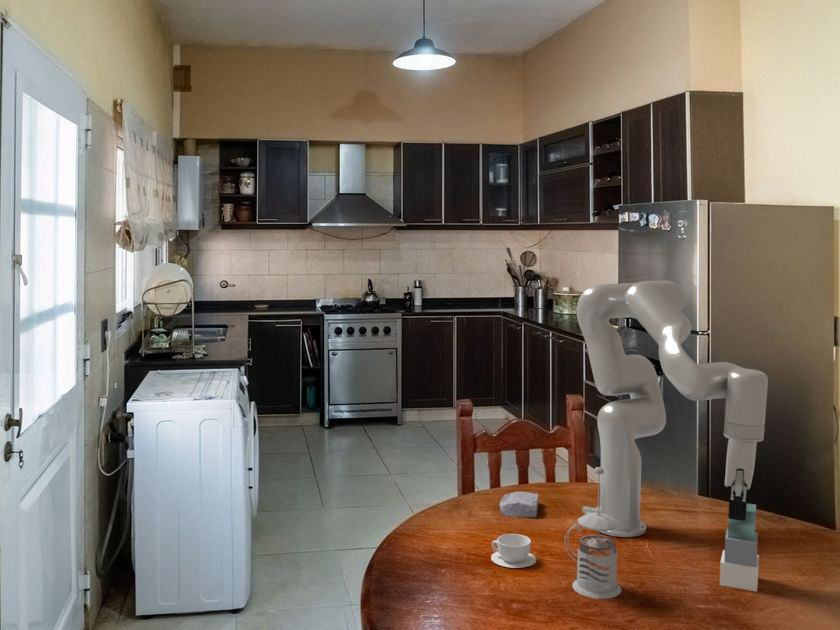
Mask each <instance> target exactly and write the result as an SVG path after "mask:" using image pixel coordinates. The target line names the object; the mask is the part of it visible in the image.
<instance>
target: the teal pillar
mask: <svg viewBox="0 0 840 630" xmlns="http://www.w3.org/2000/svg"><path fill="white" fill-rule="evenodd" d="M756 515H757V504H755V503H754V504H753V503H747V507H746V519H745V521H741V520H735V519H730V518H729V517H728V525H727V529H728V538H735V539H742V540H749V541H755V533H756V517H757V516H756Z"/></svg>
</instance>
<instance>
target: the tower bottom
mask: <svg viewBox="0 0 840 630" xmlns="http://www.w3.org/2000/svg"><path fill="white" fill-rule="evenodd" d="M724 558H725V549H723V550H722V554H721V558H720V562H719V563H720V564H719V586H721V587H722V586H723V587H727V588H734V589H739V590H746V591H751V592H758V584H759V572H760V571H759V566H760V565H759V564H760V555H758V554H757V566H756V567H751V566H744V565H738V564H731V563H725V562H724Z"/></svg>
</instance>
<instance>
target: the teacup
mask: <svg viewBox="0 0 840 630" xmlns="http://www.w3.org/2000/svg"><path fill="white" fill-rule="evenodd" d="M495 544H496V546H497V547H496V546H495ZM531 544H532V541H531V539H530V537H528V536H526V535H523V534H519V533H508V534H507V533H506V534H502V535H499V536H498V537H497V539H496V540H493V541H492V542H491V548H492V550H493V551H495V552H494V553H492V554H491V557H490V559H491V561H492V562H493V563H494V564H495V565H498V566H501V567H505V568H510V569H511V568H512V569H518V568H519V569H520V568H526V567H530V566H533V565H534V564H535V563H536V562H537V557H536V556H535V555H534V554H533V553H530V551H531V546H532V545H531Z"/></svg>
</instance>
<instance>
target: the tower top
mask: <svg viewBox="0 0 840 630" xmlns="http://www.w3.org/2000/svg"><path fill="white" fill-rule="evenodd" d="M758 536H759V533H758V532H755V541H749V540H742V539H735V538H728V528H726V531H725V539H724V550H725V558H724V562H725V563H731V564H738V565H744V566H751V567H756V566H757V555H758V541H759V540H758V538H759V537H758Z"/></svg>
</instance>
